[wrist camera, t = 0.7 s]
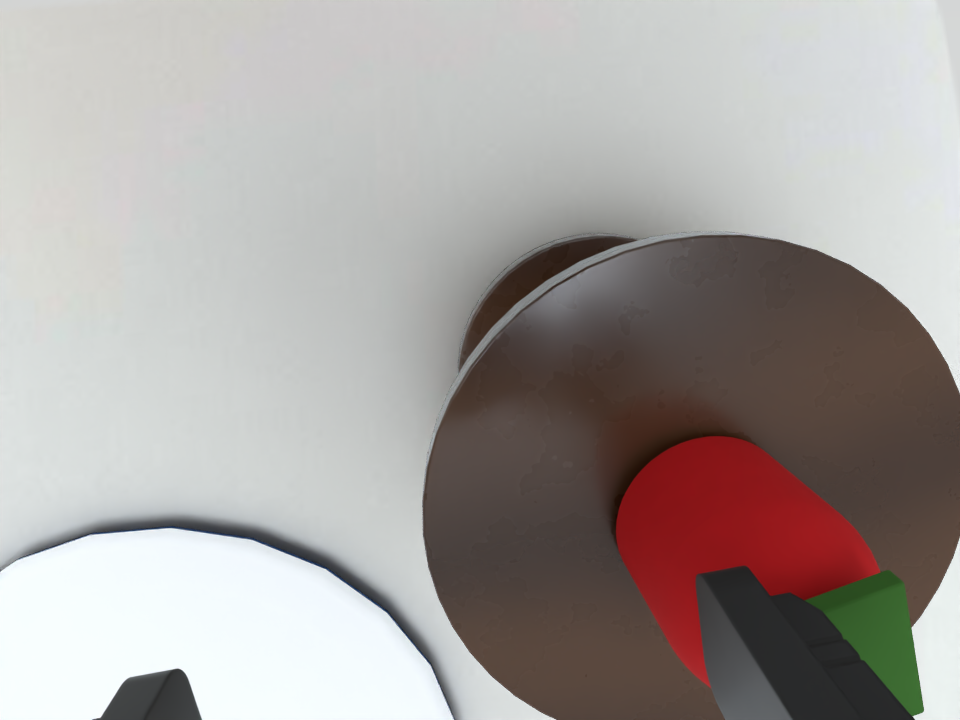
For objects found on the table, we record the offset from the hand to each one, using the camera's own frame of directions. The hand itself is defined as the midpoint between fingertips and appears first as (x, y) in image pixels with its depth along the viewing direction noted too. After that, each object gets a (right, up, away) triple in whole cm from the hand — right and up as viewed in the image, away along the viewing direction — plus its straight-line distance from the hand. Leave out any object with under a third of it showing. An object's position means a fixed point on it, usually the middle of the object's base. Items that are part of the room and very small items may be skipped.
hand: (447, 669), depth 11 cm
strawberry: (+6, +1, +6) cm, 8 cm away
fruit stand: (+5, +4, +18) cm, 20 cm away
